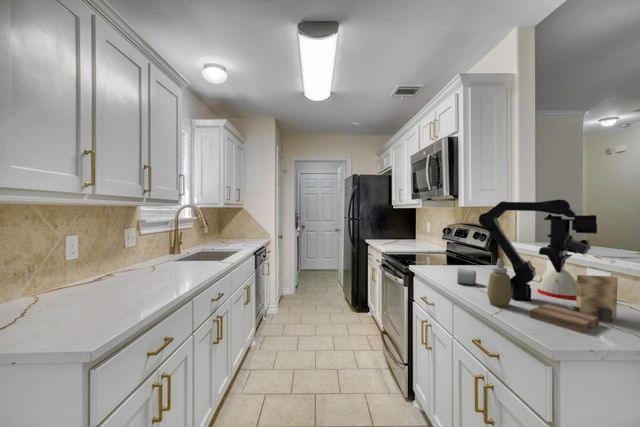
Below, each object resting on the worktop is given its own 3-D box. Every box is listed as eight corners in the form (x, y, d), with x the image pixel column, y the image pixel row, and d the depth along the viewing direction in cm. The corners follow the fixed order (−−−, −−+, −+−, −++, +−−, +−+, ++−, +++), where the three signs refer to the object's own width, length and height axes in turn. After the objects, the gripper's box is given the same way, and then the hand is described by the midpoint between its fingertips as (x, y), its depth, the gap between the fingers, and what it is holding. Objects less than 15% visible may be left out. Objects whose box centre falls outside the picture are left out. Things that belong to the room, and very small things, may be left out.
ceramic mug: (476, 286, 134) (476, 270, 134) (457, 284, 137) (457, 269, 137) (474, 281, 144) (474, 266, 144) (456, 280, 147) (456, 265, 147)
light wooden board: (572, 316, 97) (574, 276, 97) (568, 314, 99) (569, 274, 99) (616, 318, 96) (617, 277, 95) (611, 316, 98) (612, 276, 97)
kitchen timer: (534, 293, 124) (535, 260, 124) (541, 287, 133) (542, 256, 133) (576, 301, 114) (578, 265, 113) (581, 295, 123) (582, 260, 122)
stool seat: (582, 333, 85) (583, 325, 85) (529, 317, 97) (529, 310, 97) (598, 324, 91) (598, 317, 91) (546, 310, 103) (547, 303, 103)
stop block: (603, 321, 94) (604, 309, 94) (598, 319, 96) (599, 307, 96) (612, 321, 94) (612, 310, 93) (606, 319, 95) (607, 307, 95)
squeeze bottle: (512, 310, 104) (513, 261, 103) (486, 305, 108) (487, 259, 107) (511, 303, 111) (512, 258, 110) (487, 300, 115) (488, 256, 114)
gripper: (577, 235, 96) (576, 280, 96) (597, 232, 106) (595, 274, 106) (538, 232, 106) (537, 273, 106) (560, 230, 115) (559, 268, 115)
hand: (558, 272), depth 108 cm, fingers closed
